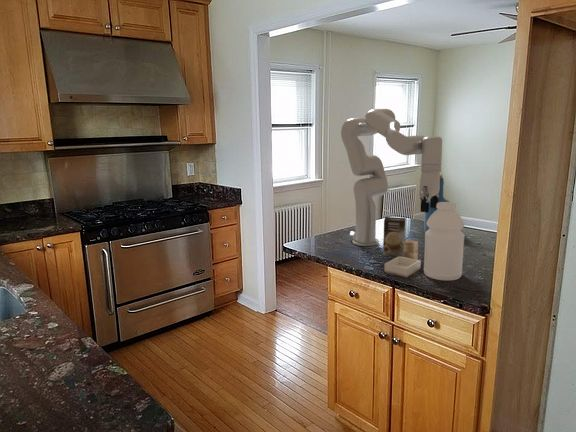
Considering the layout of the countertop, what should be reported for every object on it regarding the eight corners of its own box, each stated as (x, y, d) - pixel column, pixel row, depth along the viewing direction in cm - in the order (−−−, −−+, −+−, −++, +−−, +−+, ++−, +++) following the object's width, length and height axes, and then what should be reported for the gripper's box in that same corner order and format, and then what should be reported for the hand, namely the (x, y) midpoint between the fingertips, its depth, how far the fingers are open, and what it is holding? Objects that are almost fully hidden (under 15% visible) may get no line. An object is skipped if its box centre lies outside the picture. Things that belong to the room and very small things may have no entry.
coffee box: (382, 255, 191) (383, 219, 187) (384, 250, 197) (384, 216, 193) (403, 256, 188) (404, 220, 184) (404, 252, 194) (405, 217, 190)
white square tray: (384, 272, 170) (384, 263, 170) (398, 264, 179) (398, 256, 178) (406, 277, 164) (407, 268, 163) (420, 268, 173) (420, 260, 172)
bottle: (457, 283, 156) (462, 208, 150) (419, 277, 164) (422, 205, 157) (465, 271, 168) (469, 201, 162) (428, 266, 175) (431, 198, 169)
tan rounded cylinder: (403, 262, 181) (404, 241, 179) (407, 260, 184) (408, 239, 181) (413, 264, 178) (414, 243, 176) (417, 262, 181) (418, 241, 179)
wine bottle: (454, 235, 217) (457, 176, 210) (428, 236, 217) (430, 177, 210) (445, 228, 230) (448, 172, 223) (420, 229, 230) (422, 173, 223)
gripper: (430, 165, 180) (429, 205, 184) (412, 169, 168) (411, 212, 171) (448, 166, 176) (446, 207, 179) (431, 170, 163) (430, 215, 167)
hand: (429, 209), depth 175 cm, fingers open, 9 cm apart
